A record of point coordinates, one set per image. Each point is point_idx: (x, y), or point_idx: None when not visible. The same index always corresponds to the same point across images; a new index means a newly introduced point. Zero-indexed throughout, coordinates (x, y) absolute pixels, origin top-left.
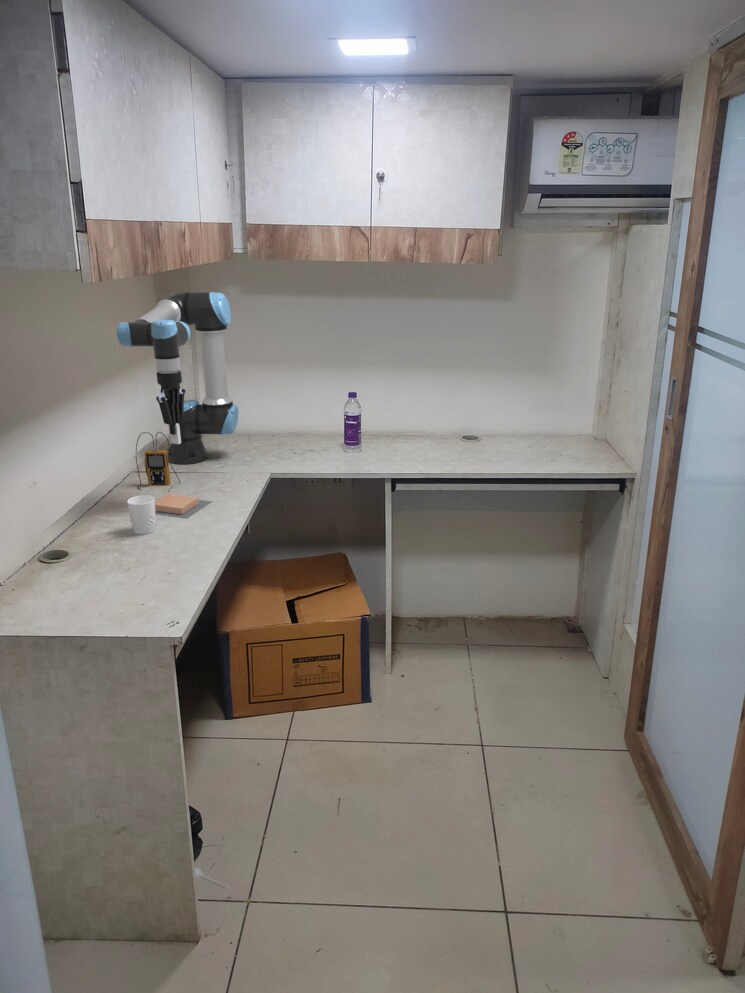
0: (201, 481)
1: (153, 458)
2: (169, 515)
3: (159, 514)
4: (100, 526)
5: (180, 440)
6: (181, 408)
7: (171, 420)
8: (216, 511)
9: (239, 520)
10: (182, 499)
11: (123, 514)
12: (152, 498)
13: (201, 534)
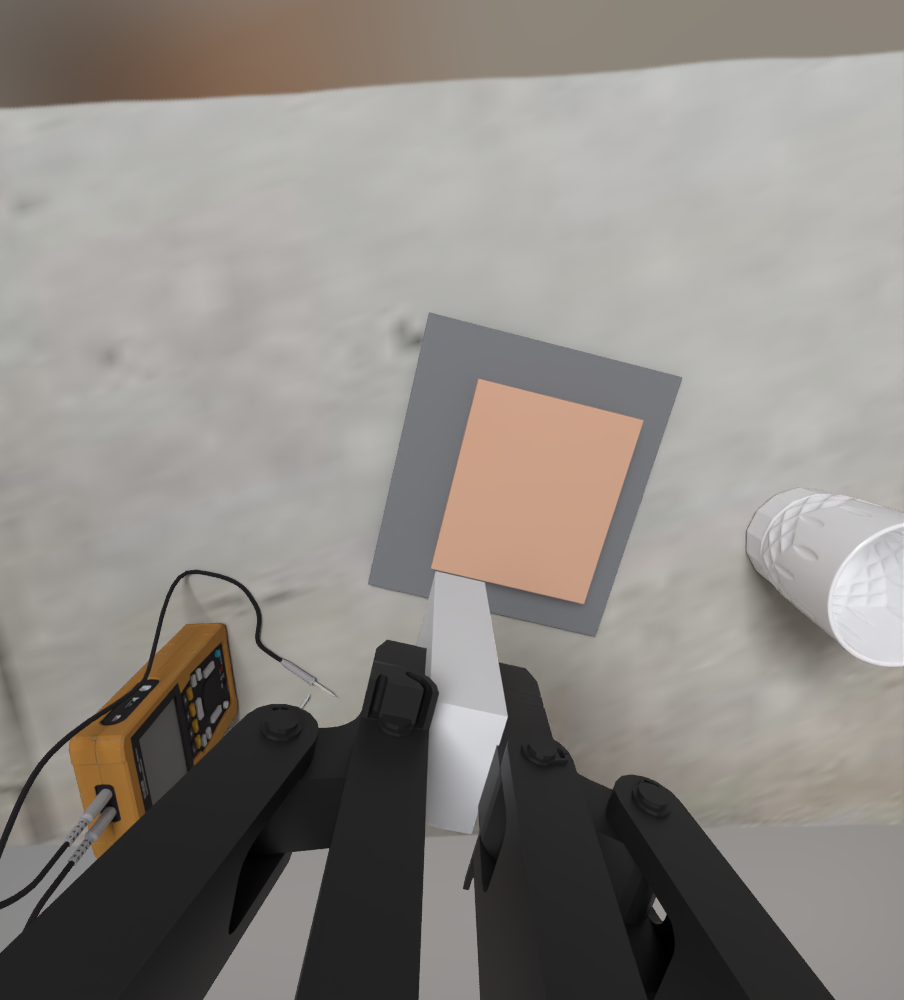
0: (103, 482)
1: (157, 782)
2: (638, 479)
3: (625, 531)
4: (738, 729)
5: (441, 584)
6: (195, 902)
7: (660, 833)
8: (549, 255)
9: (682, 72)
10: (508, 460)
11: (600, 691)
12: (858, 545)
13: (868, 240)
